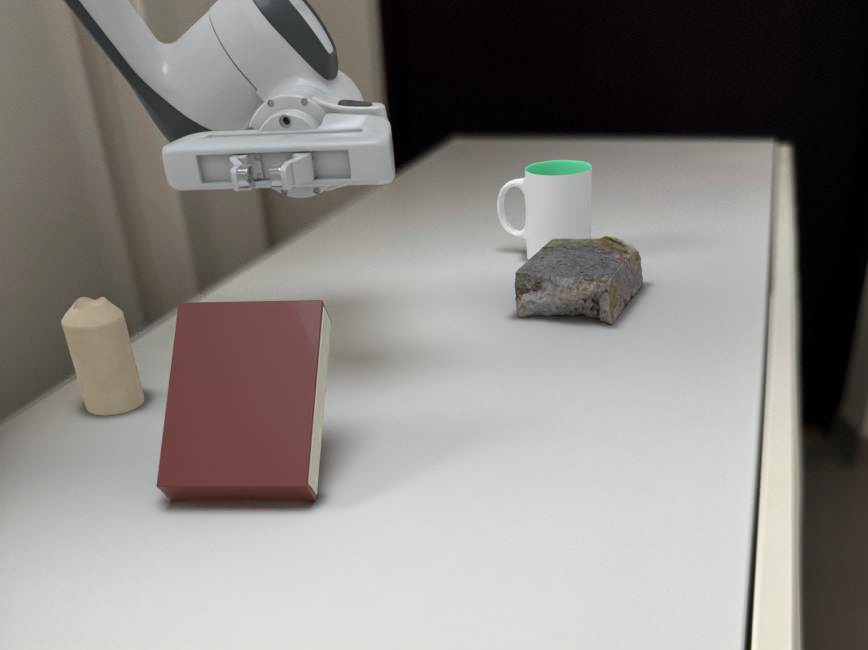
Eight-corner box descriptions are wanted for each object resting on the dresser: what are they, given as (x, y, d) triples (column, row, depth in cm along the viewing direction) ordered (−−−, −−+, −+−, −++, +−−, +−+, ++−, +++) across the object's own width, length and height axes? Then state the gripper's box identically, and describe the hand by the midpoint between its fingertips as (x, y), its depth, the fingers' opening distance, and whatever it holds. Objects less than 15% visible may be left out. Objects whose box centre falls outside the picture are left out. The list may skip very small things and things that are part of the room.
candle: (76, 405, 101) (46, 302, 96) (129, 388, 104) (102, 287, 98) (101, 421, 98) (71, 315, 92) (155, 403, 101) (129, 299, 95)
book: (155, 486, 82) (178, 302, 85) (170, 500, 85) (191, 321, 88) (307, 486, 80) (323, 299, 84) (317, 501, 83) (332, 319, 87)
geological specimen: (510, 274, 111) (555, 227, 122) (515, 330, 115) (557, 280, 125) (608, 278, 107) (645, 229, 118) (610, 335, 111) (645, 283, 122)
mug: (488, 262, 132) (484, 173, 126) (508, 244, 138) (505, 158, 132) (581, 267, 128) (582, 176, 122) (597, 248, 134) (599, 160, 128)
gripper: (183, 110, 97) (128, 143, 86) (401, 102, 95) (374, 134, 84) (197, 183, 101) (147, 223, 90) (408, 176, 99) (383, 216, 87)
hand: (259, 180), depth 87 cm, fingers closed
